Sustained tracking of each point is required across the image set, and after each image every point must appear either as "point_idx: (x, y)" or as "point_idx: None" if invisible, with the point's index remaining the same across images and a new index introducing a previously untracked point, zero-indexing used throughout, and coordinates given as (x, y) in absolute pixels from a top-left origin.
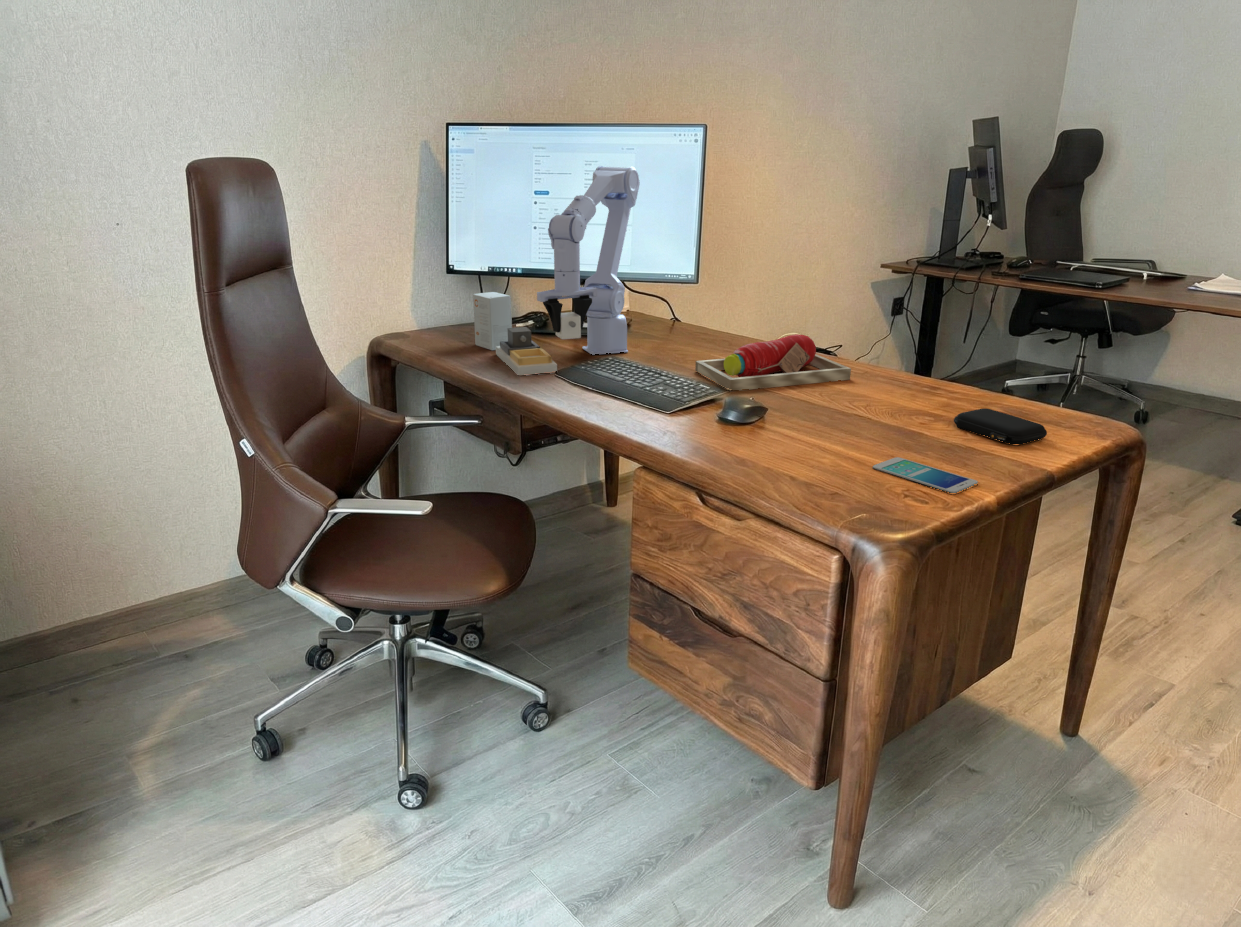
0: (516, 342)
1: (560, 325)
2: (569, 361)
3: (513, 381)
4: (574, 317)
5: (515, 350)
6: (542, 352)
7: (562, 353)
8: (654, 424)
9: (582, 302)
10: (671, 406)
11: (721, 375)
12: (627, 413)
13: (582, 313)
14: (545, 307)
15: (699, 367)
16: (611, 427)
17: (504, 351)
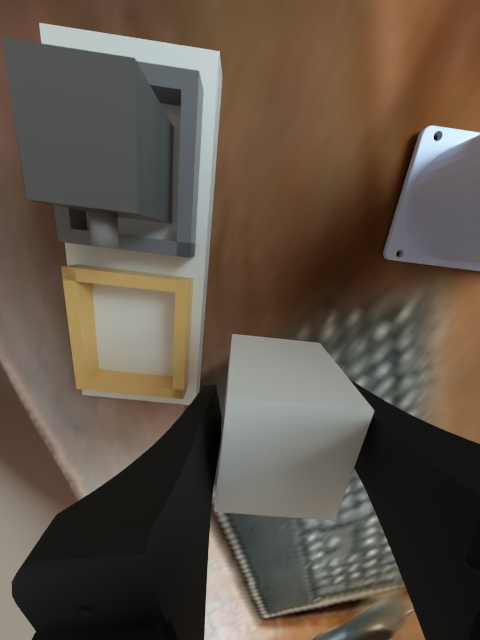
0: (86, 210)
1: (217, 452)
2: (281, 294)
3: (78, 414)
4: (295, 511)
5: (83, 275)
6: (174, 334)
7: (315, 172)
8: (224, 636)
9: (430, 624)
10: (286, 603)
11: None
12: (213, 605)
13: (373, 505)
14: (104, 486)
15: None
16: None
17: None
